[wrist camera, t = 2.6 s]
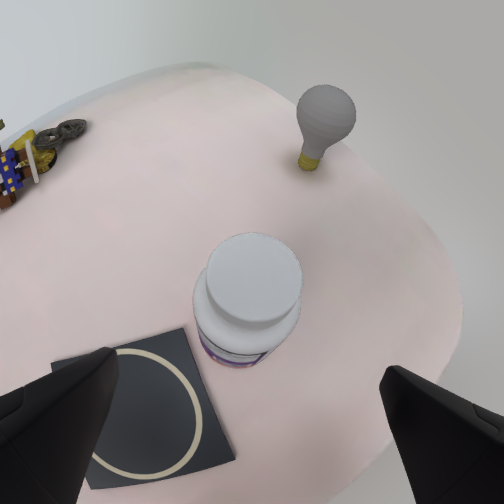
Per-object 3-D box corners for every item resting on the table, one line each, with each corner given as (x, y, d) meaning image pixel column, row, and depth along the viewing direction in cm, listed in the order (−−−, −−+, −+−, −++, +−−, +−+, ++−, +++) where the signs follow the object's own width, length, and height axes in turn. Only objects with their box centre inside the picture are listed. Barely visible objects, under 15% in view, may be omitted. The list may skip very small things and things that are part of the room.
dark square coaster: (235, 458, 15) (235, 459, 15) (92, 488, 12) (90, 489, 12) (183, 328, 19) (182, 327, 19) (52, 363, 16) (49, 362, 16)
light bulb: (336, 187, 28) (374, 110, 20) (287, 186, 28) (315, 99, 19) (322, 153, 31) (350, 80, 23) (277, 150, 30) (297, 71, 22)
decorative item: (6, 147, 25) (33, 126, 28) (8, 152, 26) (35, 130, 29) (30, 178, 23) (63, 151, 26) (33, 183, 24) (65, 156, 26)
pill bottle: (244, 284, 22) (266, 201, 13) (289, 340, 20) (345, 288, 12) (183, 322, 20) (163, 255, 11) (228, 384, 18) (241, 368, 10)
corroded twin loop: (94, 132, 29) (94, 125, 29) (39, 158, 24) (38, 150, 23) (77, 121, 30) (76, 115, 30) (27, 144, 25) (26, 137, 24)
